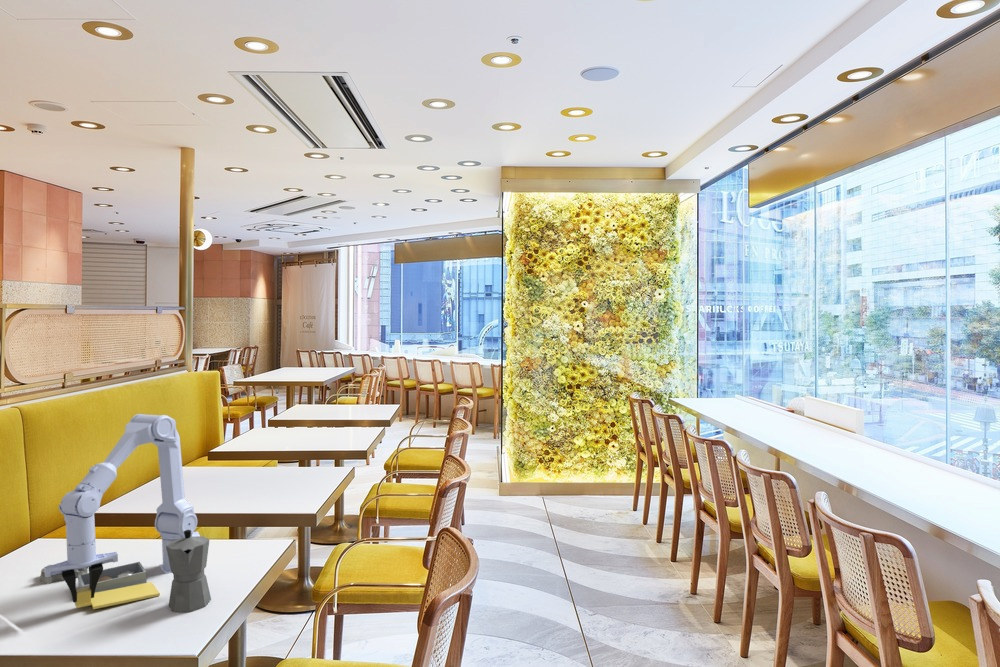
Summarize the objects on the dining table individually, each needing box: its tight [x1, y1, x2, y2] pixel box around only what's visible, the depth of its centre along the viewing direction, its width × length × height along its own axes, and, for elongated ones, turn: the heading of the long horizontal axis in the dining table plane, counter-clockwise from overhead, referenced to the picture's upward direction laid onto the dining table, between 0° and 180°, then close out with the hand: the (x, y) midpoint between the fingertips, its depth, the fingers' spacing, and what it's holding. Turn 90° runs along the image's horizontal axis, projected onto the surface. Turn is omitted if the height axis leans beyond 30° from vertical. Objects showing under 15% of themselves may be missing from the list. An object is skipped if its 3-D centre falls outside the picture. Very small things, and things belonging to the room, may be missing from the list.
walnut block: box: [98, 576, 112, 582], centre depth 168 cm, size 4×3×2 cm
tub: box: [77, 561, 148, 593], centre depth 170 cm, size 14×9×4 cm, turn 128°
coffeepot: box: [166, 530, 212, 613], centre depth 159 cm, size 15×9×18 cm, turn 25°
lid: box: [74, 581, 161, 610], centre depth 161 cm, size 17×9×4 cm, turn 129°
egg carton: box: [40, 564, 89, 584], centre depth 176 cm, size 11×8×4 cm
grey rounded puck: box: [118, 571, 134, 577], centre depth 172 cm, size 4×4×2 cm
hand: (83, 598), depth 156 cm, fingers closed on lid, 3 cm apart
